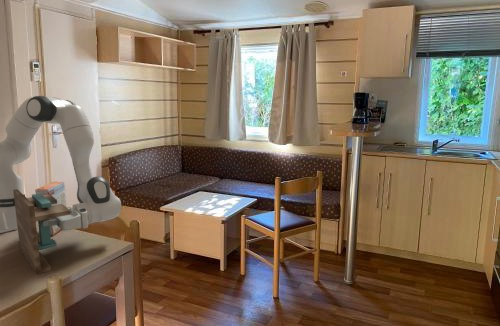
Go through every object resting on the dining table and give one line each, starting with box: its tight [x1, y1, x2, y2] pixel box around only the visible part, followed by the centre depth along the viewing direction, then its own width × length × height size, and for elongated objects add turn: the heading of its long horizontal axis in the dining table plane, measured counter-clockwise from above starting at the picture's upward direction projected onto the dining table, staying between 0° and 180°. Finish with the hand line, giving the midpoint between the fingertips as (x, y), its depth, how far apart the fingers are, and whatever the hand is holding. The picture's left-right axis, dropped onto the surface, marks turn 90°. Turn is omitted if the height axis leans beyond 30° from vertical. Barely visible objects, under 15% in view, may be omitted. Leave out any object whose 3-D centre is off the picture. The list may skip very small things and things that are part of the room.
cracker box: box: [35, 181, 68, 237], centre depth 171 cm, size 14×6×21 cm, turn 178°
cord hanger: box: [31, 193, 58, 251], centre depth 144 cm, size 6×16×18 cm, turn 40°
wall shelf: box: [13, 189, 71, 275], centre depth 144 cm, size 12×28×24 cm, turn 40°
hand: (40, 222), depth 143 cm, fingers closed on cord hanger, 3 cm apart
